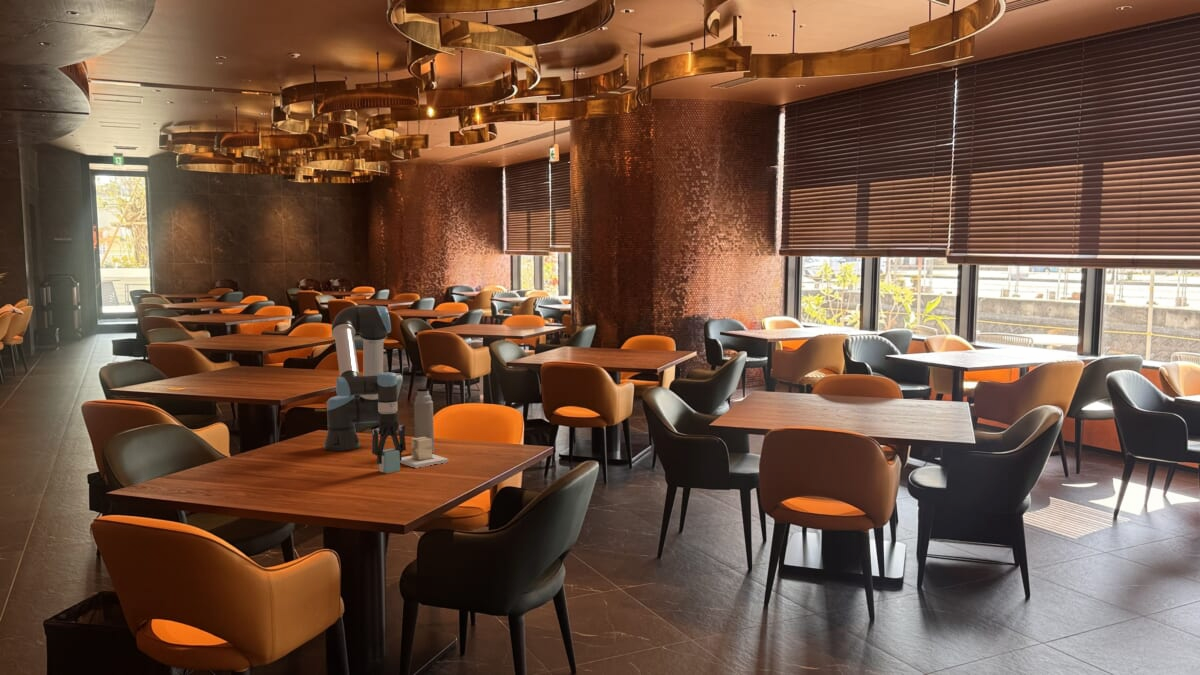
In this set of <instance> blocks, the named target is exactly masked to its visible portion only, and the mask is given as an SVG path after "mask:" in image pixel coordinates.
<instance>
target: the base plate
mask: <svg viewBox="0 0 1200 675" xmlns="http://www.w3.org/2000/svg"><path fill="white" fill-rule="evenodd" d="M447 462H449V458H446V457H443V456H440V455H438V454H434V453H433V454H432V458H430V459H425V460H417V459H414V458H412V455H407V456H401V460H400V464H403V465H405V466H408V467H411V468H413V467H414V468H415V469H419V467H421V468H426V467H431V466H430V465H432V466H435V465H434V464H438V465H442V464H441V463H443V464H448V463H447ZM425 466H426V467H425ZM414 468H413V469H414Z"/></svg>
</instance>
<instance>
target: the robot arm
mask: <svg viewBox="0 0 1200 675" xmlns="http://www.w3.org/2000/svg"><path fill="white" fill-rule="evenodd" d="M391 324H392V323H391V319H390V314H389V310H388V308H387V307H386V306H384V305H366V306H365V305H364V306H355V305H354V306H349V307H345V308H344V309H342V310H341V311H339V312H338V314H336V315H335V317H334V319H333V321H332V323H331V336H332V338H333V339H334V340H335V349H336V355H337V362H338V363H337V364H338V372H339V376H338V377H337V378H336V379H335V389H336V390H335V391H336V392H335V393H336V395H335V396H331V397H330V398H328V399H327V402H326V406H327V407H326V412H327V414H326V415H327V433H326V436H325V441H324V443H323V450H325V451H330V452H346V451H353V450H356V449H357V450H358V449H359V448H360V446H361V445H360V444H361V443H360V439H359V436H358V434H357V431H356V424H367V423H378V426H377V427H376V428H372V429H371V431H370V432H371V434H372V443H371V444H372V445H371V449H372V450H371V453H372V455H375V456H376V462H377V465H378V471H379V472H381V473H383V472H384V456H383V455H382V453H383V450H385V449H384V448H385V444H386V441H387V439H388V437H391V439H392V442H393V446H394V448H395V450H398V451H400V460H401V457H402V453H403V452H404V451H406V450H407V446H406V445H407V444H406V435H405V433H406V432H405V430H406V426H405V425H403V424H401V425H400V424H399V422H398V421H399V413H398V410H399V409H398V406H399V405H398V404H399V403H398V378H397V374H396V373H395V372H391V371H390V372H388V371H387V372H384V341H385V340H386V339H387V338H388V334H389V333H391V332H392V325H391ZM357 334H359V338H360V339H361V340H362V342H363V345H362V349H363V352H362V357H363V359H362V360H363V361H362V369H363V370H362V376H361V375H360V371H359V364H358V357H357V350H356V345H355V344H356V343H355V335H357ZM397 431H398V433H397ZM379 434H380V436H379ZM379 437H380V438H379ZM398 437H399V438H398Z"/></svg>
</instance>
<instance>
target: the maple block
mask: <svg viewBox="0 0 1200 675" xmlns="http://www.w3.org/2000/svg"><path fill="white" fill-rule="evenodd" d="M411 456H412V458H414V459H417V460H425V459H430V458H432V439H430V438H427V437H420V438H415V437H414V438H411Z"/></svg>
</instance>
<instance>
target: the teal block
mask: <svg viewBox="0 0 1200 675" xmlns="http://www.w3.org/2000/svg"><path fill="white" fill-rule="evenodd" d="M382 455H383V456H384V472H382V473H384V474H391V473H397V472H400V471H401V463H400V451H398V450H396V449H394V448H388V449H383V453H382Z"/></svg>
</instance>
